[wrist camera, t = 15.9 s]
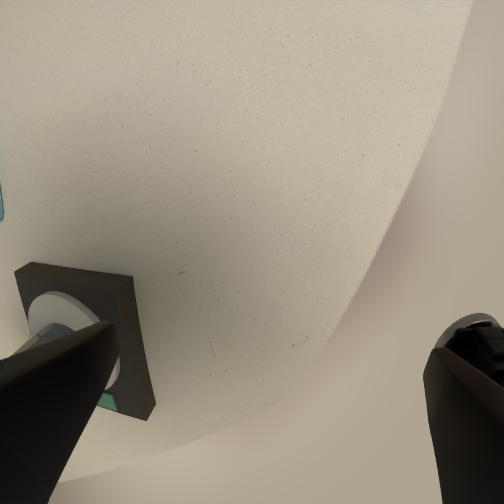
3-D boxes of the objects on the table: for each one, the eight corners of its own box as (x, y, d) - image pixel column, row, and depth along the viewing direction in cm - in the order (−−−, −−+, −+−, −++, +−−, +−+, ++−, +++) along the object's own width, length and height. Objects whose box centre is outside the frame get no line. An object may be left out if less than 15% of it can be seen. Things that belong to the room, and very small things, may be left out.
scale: (156, 404, 29) (143, 427, 26) (64, 375, 30) (49, 393, 27) (132, 276, 24) (110, 295, 21) (31, 261, 26) (8, 274, 23)
